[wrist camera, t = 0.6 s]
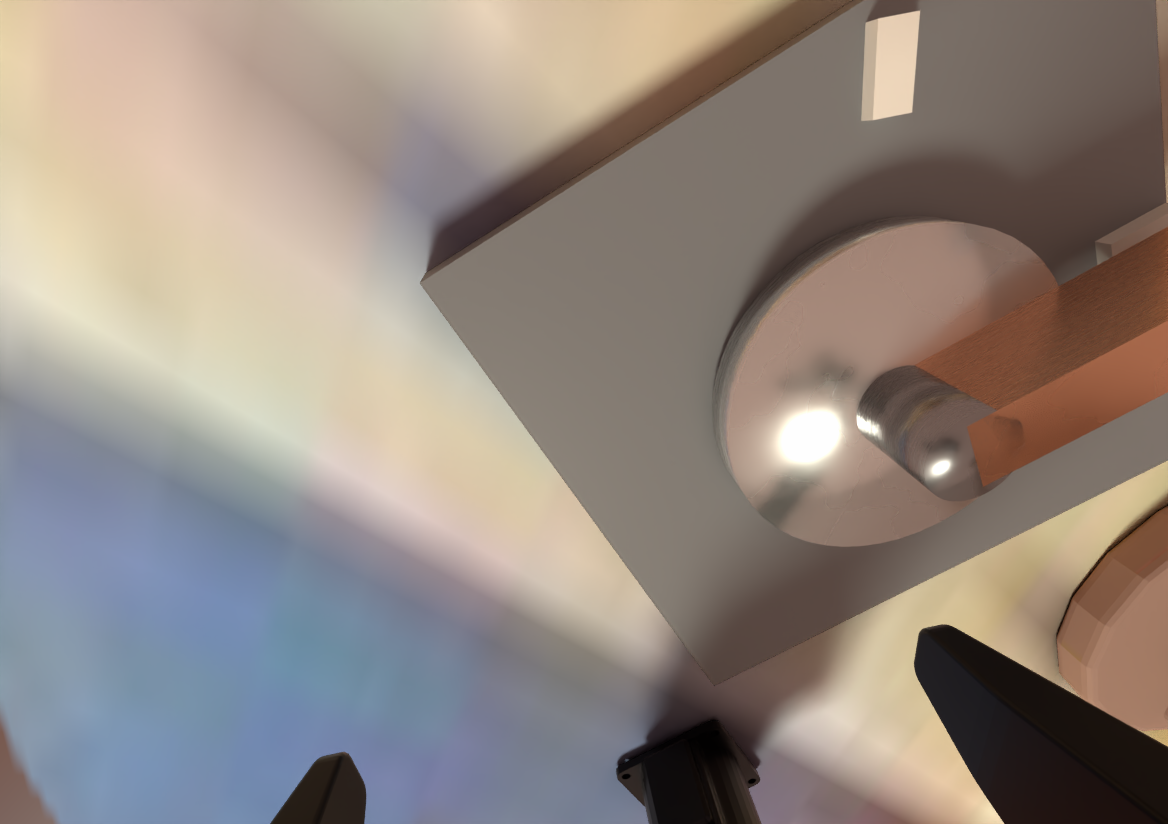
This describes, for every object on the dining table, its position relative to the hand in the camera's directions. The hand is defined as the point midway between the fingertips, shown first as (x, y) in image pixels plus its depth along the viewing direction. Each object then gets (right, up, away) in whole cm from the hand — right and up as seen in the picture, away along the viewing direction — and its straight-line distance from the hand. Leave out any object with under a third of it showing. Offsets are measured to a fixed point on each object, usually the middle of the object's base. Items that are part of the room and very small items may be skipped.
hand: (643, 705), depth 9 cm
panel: (+9, +6, +14) cm, 18 cm away
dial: (+12, +7, +12) cm, 18 cm away
